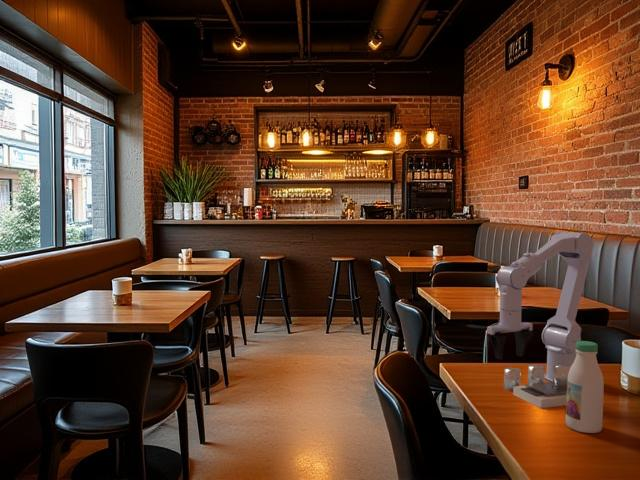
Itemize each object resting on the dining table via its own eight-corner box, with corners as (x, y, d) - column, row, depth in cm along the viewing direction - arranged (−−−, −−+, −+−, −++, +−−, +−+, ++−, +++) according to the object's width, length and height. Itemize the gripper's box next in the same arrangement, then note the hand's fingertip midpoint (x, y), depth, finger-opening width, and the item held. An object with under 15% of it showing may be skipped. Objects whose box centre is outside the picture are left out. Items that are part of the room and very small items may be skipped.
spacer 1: (513, 385, 163) (514, 366, 163) (523, 390, 159) (524, 371, 159) (500, 387, 162) (501, 368, 161) (510, 391, 157) (510, 372, 157)
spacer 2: (537, 382, 166) (537, 364, 166) (547, 387, 162) (548, 368, 162) (524, 383, 165) (525, 365, 164) (534, 388, 161) (535, 369, 160)
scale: (555, 389, 159) (555, 381, 159) (584, 402, 149) (585, 393, 149) (513, 394, 155) (513, 385, 155) (540, 408, 145) (540, 398, 144)
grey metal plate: (558, 382, 158) (558, 380, 158) (579, 391, 150) (580, 389, 150) (525, 386, 154) (525, 384, 154) (545, 395, 147) (545, 393, 147)
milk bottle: (599, 423, 134) (602, 340, 133) (604, 436, 127) (607, 348, 126) (564, 419, 137) (567, 337, 136) (567, 431, 130) (570, 345, 129)
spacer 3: (562, 382, 156) (562, 363, 156) (574, 387, 152) (574, 367, 151) (549, 384, 155) (549, 364, 154) (560, 389, 150) (561, 368, 150)
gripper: (520, 305, 166) (519, 351, 166) (480, 308, 160) (479, 356, 161) (538, 309, 159) (537, 357, 160) (497, 313, 153) (496, 362, 154)
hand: (509, 357), depth 160 cm, fingers open, 7 cm apart
